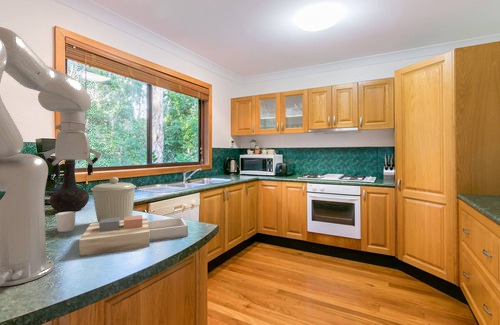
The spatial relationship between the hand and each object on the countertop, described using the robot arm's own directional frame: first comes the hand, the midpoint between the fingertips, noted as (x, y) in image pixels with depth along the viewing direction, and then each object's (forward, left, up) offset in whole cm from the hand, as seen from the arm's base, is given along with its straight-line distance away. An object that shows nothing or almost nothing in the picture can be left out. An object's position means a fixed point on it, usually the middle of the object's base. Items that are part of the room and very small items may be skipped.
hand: (73, 175), depth 93 cm
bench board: (-9, -15, -24) cm, 29 cm away
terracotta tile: (-9, -20, -19) cm, 29 cm away
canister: (+18, -12, -24) cm, 32 cm away
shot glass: (+16, +6, -24) cm, 29 cm away
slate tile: (-9, -12, -19) cm, 24 cm away
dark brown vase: (+58, +13, -24) cm, 64 cm away
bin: (-7, -32, -24) cm, 40 cm away
